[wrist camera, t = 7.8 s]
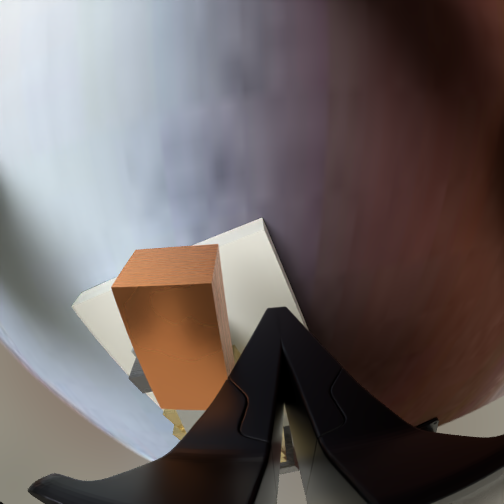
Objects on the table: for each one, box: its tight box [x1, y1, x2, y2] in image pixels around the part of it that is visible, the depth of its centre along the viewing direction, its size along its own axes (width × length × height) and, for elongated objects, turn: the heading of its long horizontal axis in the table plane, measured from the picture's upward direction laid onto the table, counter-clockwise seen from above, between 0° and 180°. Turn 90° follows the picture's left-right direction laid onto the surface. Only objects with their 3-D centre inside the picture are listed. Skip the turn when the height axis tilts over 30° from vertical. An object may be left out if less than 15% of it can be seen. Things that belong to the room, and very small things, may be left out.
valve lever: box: [111, 244, 235, 433], centre depth 10 cm, size 14×2×3 cm, turn 4°
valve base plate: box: [71, 218, 309, 427], centre depth 19 cm, size 20×12×2 cm, turn 22°
